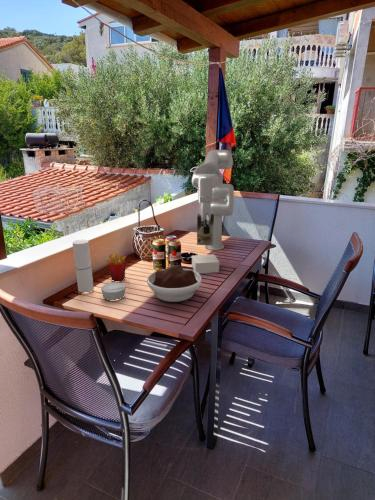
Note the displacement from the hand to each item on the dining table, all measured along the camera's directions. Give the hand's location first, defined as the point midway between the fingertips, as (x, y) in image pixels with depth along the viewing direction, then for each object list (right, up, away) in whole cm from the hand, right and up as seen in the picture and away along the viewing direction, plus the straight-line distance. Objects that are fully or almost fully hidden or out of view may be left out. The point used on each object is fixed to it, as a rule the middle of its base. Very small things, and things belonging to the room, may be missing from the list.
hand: (205, 231), depth 185 cm
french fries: (-45, -26, -9) cm, 53 cm away
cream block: (0, -21, +7) cm, 22 cm away
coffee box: (0, -7, +2) cm, 7 cm away
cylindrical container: (-59, -30, -20) cm, 69 cm away
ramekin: (-44, -32, -27) cm, 61 cm away
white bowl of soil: (-16, -32, -27) cm, 45 cm away
